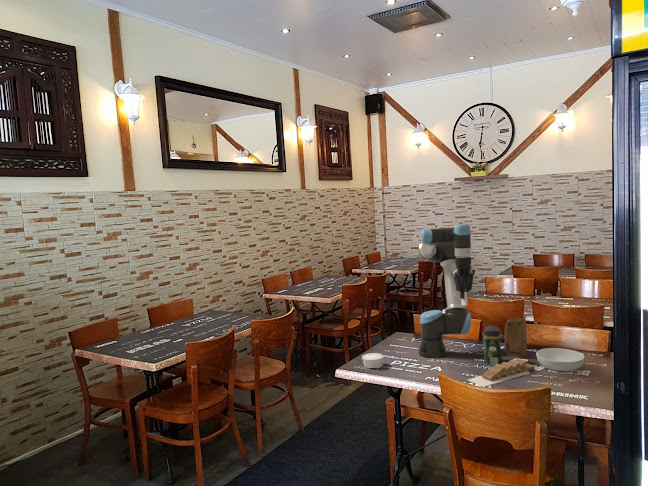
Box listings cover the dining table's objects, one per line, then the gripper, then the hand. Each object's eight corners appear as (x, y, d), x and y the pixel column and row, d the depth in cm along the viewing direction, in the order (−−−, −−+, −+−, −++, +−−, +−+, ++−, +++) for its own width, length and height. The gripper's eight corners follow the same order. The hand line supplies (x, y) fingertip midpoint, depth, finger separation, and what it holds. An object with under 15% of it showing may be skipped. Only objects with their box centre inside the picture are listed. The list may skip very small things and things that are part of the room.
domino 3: (505, 374, 220) (519, 362, 224) (496, 371, 225) (510, 359, 229) (506, 377, 221) (520, 365, 225) (497, 373, 225) (511, 362, 229)
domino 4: (512, 372, 222) (526, 360, 226) (503, 369, 227) (517, 358, 231) (513, 375, 223) (526, 363, 227) (504, 372, 227) (518, 361, 231)
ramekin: (360, 369, 246) (359, 358, 245) (365, 362, 256) (365, 352, 256) (381, 370, 242) (381, 360, 241) (386, 363, 252) (386, 353, 252)
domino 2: (497, 376, 218) (512, 364, 222) (489, 373, 223) (503, 361, 227) (498, 379, 219) (513, 367, 223) (490, 376, 223) (504, 364, 227)
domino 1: (489, 378, 216) (504, 366, 220) (481, 375, 221) (496, 363, 225) (491, 381, 217) (505, 369, 221) (482, 378, 221) (497, 366, 225)
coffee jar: (484, 359, 249) (483, 324, 248) (501, 360, 246) (500, 325, 245) (484, 366, 240) (483, 329, 239) (501, 367, 237) (500, 330, 236)
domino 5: (519, 370, 224) (534, 365, 229) (510, 367, 229) (525, 363, 233) (519, 373, 225) (534, 369, 229) (510, 370, 229) (525, 366, 233)
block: (527, 354, 253) (527, 317, 252) (525, 358, 247) (524, 320, 246) (506, 352, 259) (505, 315, 258) (503, 356, 253) (502, 319, 251)
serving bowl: (526, 366, 237) (526, 352, 236) (557, 358, 245) (557, 345, 244) (562, 379, 218) (562, 364, 217) (595, 370, 226) (594, 356, 225)
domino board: (482, 388, 211) (482, 386, 211) (466, 381, 220) (466, 379, 220) (531, 374, 224) (530, 372, 224) (513, 369, 233) (513, 367, 233)
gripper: (458, 258, 225) (459, 308, 226) (478, 255, 230) (480, 304, 232) (447, 257, 231) (448, 305, 233) (467, 254, 237) (469, 302, 239)
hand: (464, 305), depth 233 cm, fingers closed
